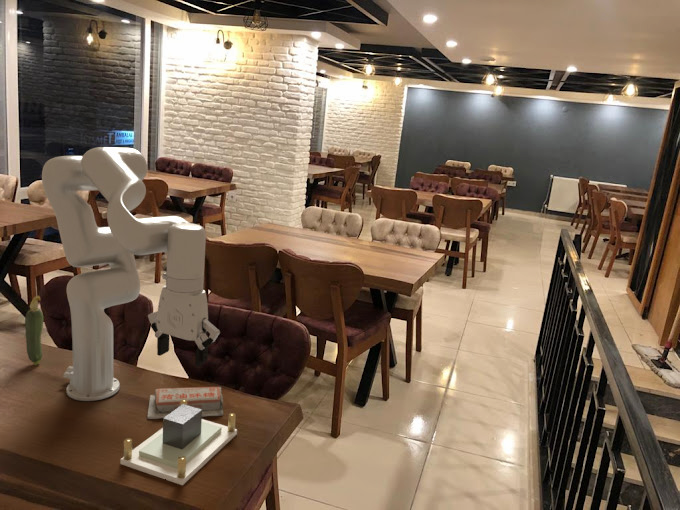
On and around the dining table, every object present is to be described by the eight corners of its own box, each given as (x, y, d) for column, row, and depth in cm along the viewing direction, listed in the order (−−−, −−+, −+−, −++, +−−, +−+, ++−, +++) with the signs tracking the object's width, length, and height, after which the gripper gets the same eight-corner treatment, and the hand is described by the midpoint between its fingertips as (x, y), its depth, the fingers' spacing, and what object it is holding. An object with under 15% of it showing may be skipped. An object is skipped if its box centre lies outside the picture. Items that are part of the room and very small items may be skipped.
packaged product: (222, 381, 145) (224, 400, 136) (221, 397, 147) (223, 417, 137) (150, 383, 141) (147, 403, 131) (149, 400, 142) (146, 421, 132)
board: (138, 455, 116) (139, 425, 115) (184, 420, 131) (185, 393, 129) (179, 469, 113) (180, 437, 111) (221, 431, 128) (222, 403, 126)
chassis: (120, 464, 115) (120, 441, 114) (182, 417, 135) (182, 398, 133) (182, 485, 110) (183, 462, 109) (237, 434, 130) (238, 414, 129)
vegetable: (23, 365, 153) (20, 296, 148) (34, 359, 157) (31, 292, 153) (37, 367, 152) (35, 298, 148) (48, 361, 156) (46, 294, 152)
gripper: (138, 279, 114) (137, 355, 118) (210, 296, 109) (206, 375, 113) (162, 271, 121) (159, 343, 125) (230, 286, 116) (225, 362, 120)
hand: (181, 358), depth 119 cm, fingers open, 9 cm apart
